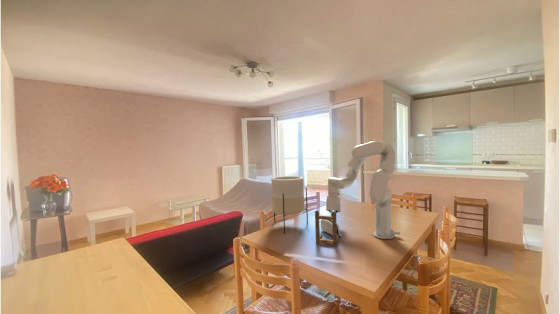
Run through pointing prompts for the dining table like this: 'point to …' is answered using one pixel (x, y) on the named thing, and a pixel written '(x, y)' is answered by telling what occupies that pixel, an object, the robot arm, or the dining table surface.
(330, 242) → the brown wooden frame
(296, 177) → the planter
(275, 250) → the dining table surface
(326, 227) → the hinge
